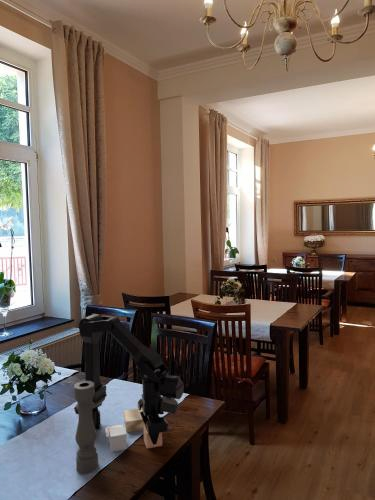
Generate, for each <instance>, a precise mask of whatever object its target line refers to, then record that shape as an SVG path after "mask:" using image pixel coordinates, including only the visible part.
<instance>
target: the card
mask: <svg viewBox="0 0 375 500" xmlns="http://www.w3.org/2000/svg"><path fill="white" fill-rule="evenodd" d="M121 426H123V424H117V425H112V426H107V427H104V431H105V436H106V438H109V429H110V428H115V427H121Z"/></svg>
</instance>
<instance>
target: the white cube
mask: <svg viewBox="0 0 375 500" xmlns="http://www.w3.org/2000/svg"><path fill="white" fill-rule="evenodd" d="M127 436H128V435H127V432H126V427H125V425H122V426H121V427H115V428H110V429H109V437H108V440H109V441H108V445H109V448H110V449H109V450H110V453H112V452H118V451H123V450H127V449H128V441H127V439H128V438H127Z"/></svg>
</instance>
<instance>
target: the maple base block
mask: <svg viewBox="0 0 375 500" xmlns="http://www.w3.org/2000/svg"><path fill="white" fill-rule="evenodd" d="M140 412H142V408H141V410H140V411H139V408H133V409H126V410H123V414H124V415H123V417H124V420H123V421H124V427H125V430H126V433H129V432H135V431H144V425H145V424H144V421H143V419H142V417H141V414H140Z"/></svg>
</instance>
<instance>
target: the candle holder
mask: <svg viewBox="0 0 375 500" xmlns="http://www.w3.org/2000/svg"><path fill="white" fill-rule="evenodd" d="M73 393H74V395H73V396H74V398H75V401H76V402H77V403H76V405H75V406H76V410H78V414H77V415H78V422H77V426H76V431H75V442H76V444H77V445H78V450H77V451H76V457H75V462H76V463H75V465H76V471H77V473H79V474H83V475H86V474H87V475H88V474H92V473H93V472H95V471H96V470H97V469H98V467H99V455H98V454H99V453H98V450H97V448H96V447H95V443H96V441H97V438H98V434H97V430H96V429H95V426H94V422H93V419H92V408H93V407H94V403H93V402H92V400H93V398H94V395H95V390H94V382H92V381H85V380H82V381H78V382H77V383H74V385H73Z"/></svg>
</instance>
